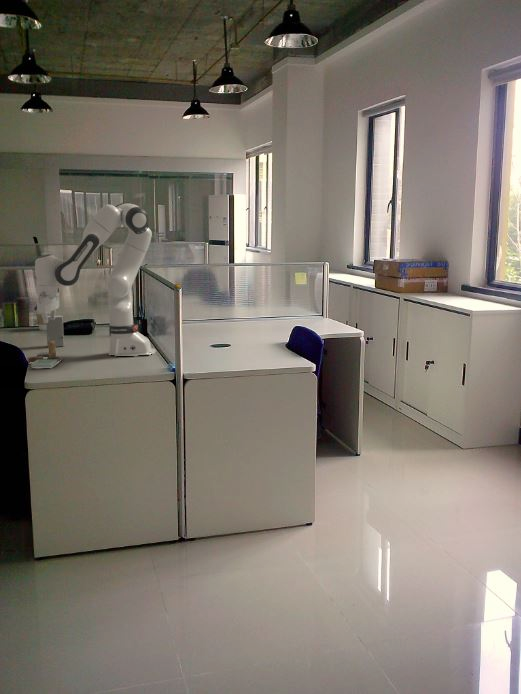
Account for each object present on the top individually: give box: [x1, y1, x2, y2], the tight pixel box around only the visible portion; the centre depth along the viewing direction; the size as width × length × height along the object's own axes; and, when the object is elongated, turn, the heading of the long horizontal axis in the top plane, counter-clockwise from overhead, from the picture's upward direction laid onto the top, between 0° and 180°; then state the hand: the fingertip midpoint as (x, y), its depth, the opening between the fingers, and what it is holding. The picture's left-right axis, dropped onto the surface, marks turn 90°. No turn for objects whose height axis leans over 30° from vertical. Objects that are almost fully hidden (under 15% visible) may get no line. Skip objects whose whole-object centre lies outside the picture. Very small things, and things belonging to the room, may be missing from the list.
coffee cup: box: [34, 304, 51, 332], centre depth 400 cm, size 11×11×15 cm
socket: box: [44, 356, 62, 362], centre depth 310 cm, size 6×6×2 cm
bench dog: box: [27, 355, 45, 364], centre depth 309 cm, size 6×3×3 cm, turn 89°
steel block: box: [36, 351, 49, 357], centre depth 321 cm, size 6×5×2 cm
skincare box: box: [46, 315, 65, 348], centre depth 348 cm, size 8×7×16 cm
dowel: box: [47, 341, 57, 360], centre depth 309 cm, size 3×3×10 cm
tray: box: [30, 359, 57, 367], centre depth 302 cm, size 9×8×2 cm
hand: (49, 321), depth 307 cm, fingers open, 8 cm apart
